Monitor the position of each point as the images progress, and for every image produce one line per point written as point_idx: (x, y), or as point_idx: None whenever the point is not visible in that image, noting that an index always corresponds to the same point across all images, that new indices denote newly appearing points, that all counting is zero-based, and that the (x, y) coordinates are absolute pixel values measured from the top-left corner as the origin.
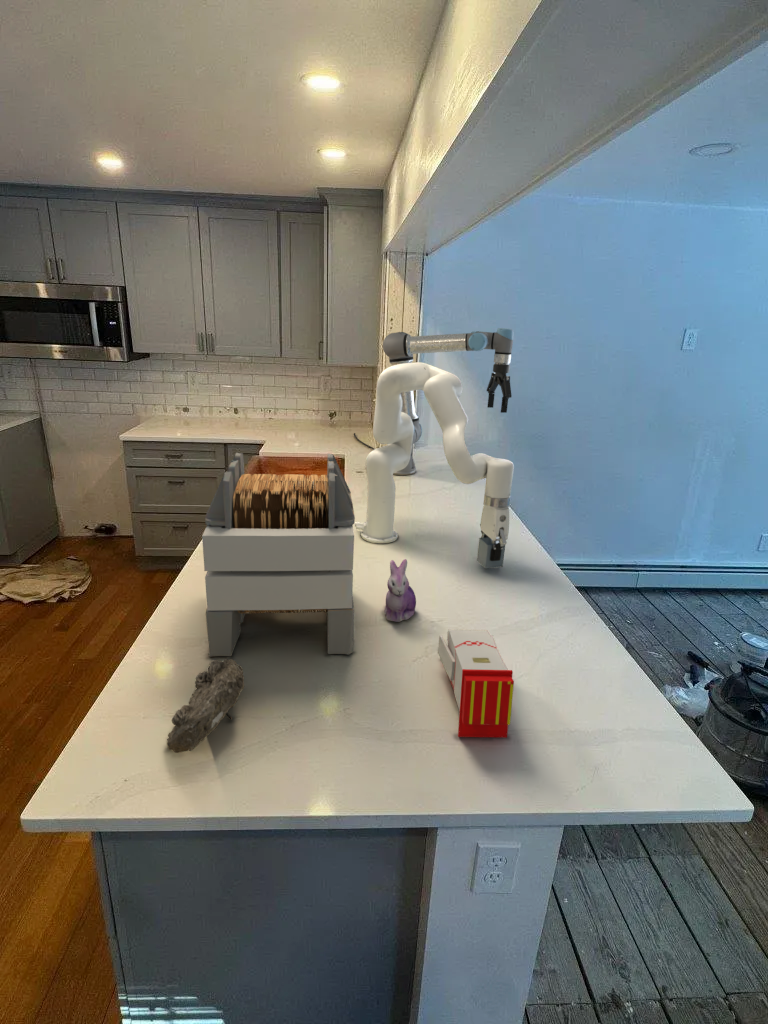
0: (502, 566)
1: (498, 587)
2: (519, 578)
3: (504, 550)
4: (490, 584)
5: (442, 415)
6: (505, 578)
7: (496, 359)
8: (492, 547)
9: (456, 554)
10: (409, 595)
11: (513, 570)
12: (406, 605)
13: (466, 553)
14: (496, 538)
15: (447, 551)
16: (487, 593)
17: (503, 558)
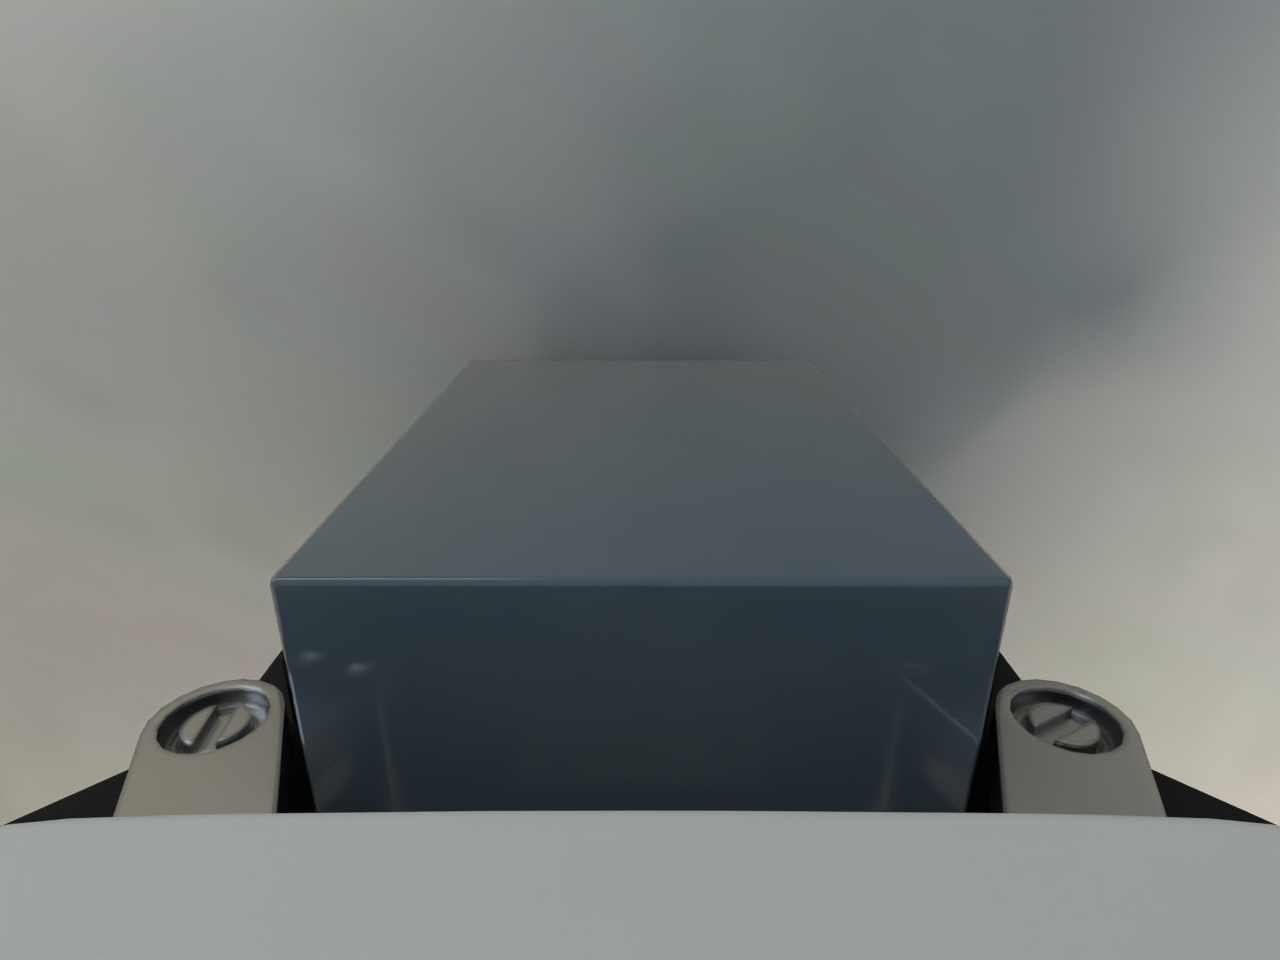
0: (813, 367)
1: (1183, 606)
2: (1091, 161)
3: (917, 485)
4: (1069, 661)
5: None
6: (1000, 392)
7: None
8: None
9: (122, 706)
10: None
11: (790, 102)
12: None
13: (76, 569)
14: (472, 672)
15: (26, 772)
16: (1242, 778)
17: (853, 413)
